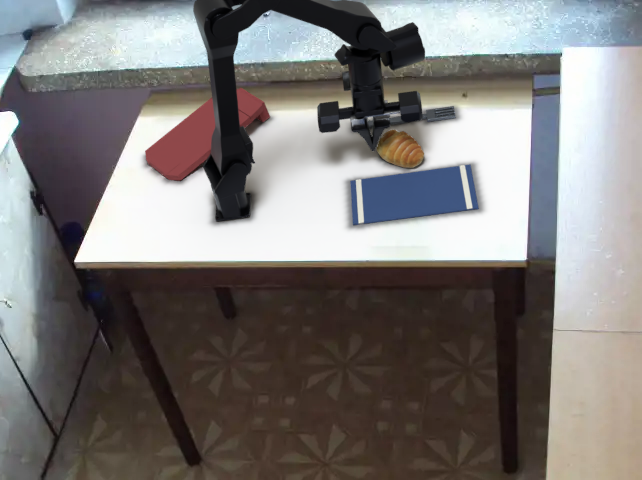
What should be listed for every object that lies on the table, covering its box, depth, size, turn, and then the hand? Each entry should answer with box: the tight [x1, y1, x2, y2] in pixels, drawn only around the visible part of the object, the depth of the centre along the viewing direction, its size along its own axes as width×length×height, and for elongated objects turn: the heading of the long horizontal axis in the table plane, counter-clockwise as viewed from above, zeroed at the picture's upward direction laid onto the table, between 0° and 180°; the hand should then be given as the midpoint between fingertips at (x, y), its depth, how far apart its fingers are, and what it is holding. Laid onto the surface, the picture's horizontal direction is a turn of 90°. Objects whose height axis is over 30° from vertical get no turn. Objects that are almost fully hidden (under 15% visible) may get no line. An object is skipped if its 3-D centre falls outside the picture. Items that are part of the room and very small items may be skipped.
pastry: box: [376, 129, 425, 169], centre depth 176 cm, size 9×7×4 cm
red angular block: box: [144, 87, 271, 181], centre depth 190 cm, size 12×5×25 cm
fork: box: [368, 105, 457, 129], centre depth 184 cm, size 3×19×1 cm, turn 89°
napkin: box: [350, 164, 480, 226], centre depth 170 cm, size 12×22×1 cm, turn 89°
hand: (373, 149), depth 177 cm, fingers closed
